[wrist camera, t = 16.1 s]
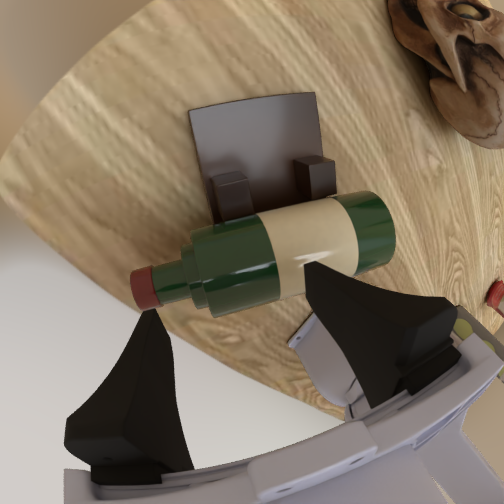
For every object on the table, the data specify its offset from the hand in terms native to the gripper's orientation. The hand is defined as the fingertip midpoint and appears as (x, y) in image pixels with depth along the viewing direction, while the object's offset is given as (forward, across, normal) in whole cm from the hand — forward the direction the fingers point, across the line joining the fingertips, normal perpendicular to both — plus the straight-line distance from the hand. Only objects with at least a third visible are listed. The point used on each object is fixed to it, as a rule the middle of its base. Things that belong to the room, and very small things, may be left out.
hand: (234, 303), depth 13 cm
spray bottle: (+10, -38, +28) cm, 49 cm away
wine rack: (+9, -5, -1) cm, 11 cm away
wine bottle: (+7, -3, +1) cm, 8 cm away
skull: (+10, -26, -14) cm, 31 cm away
